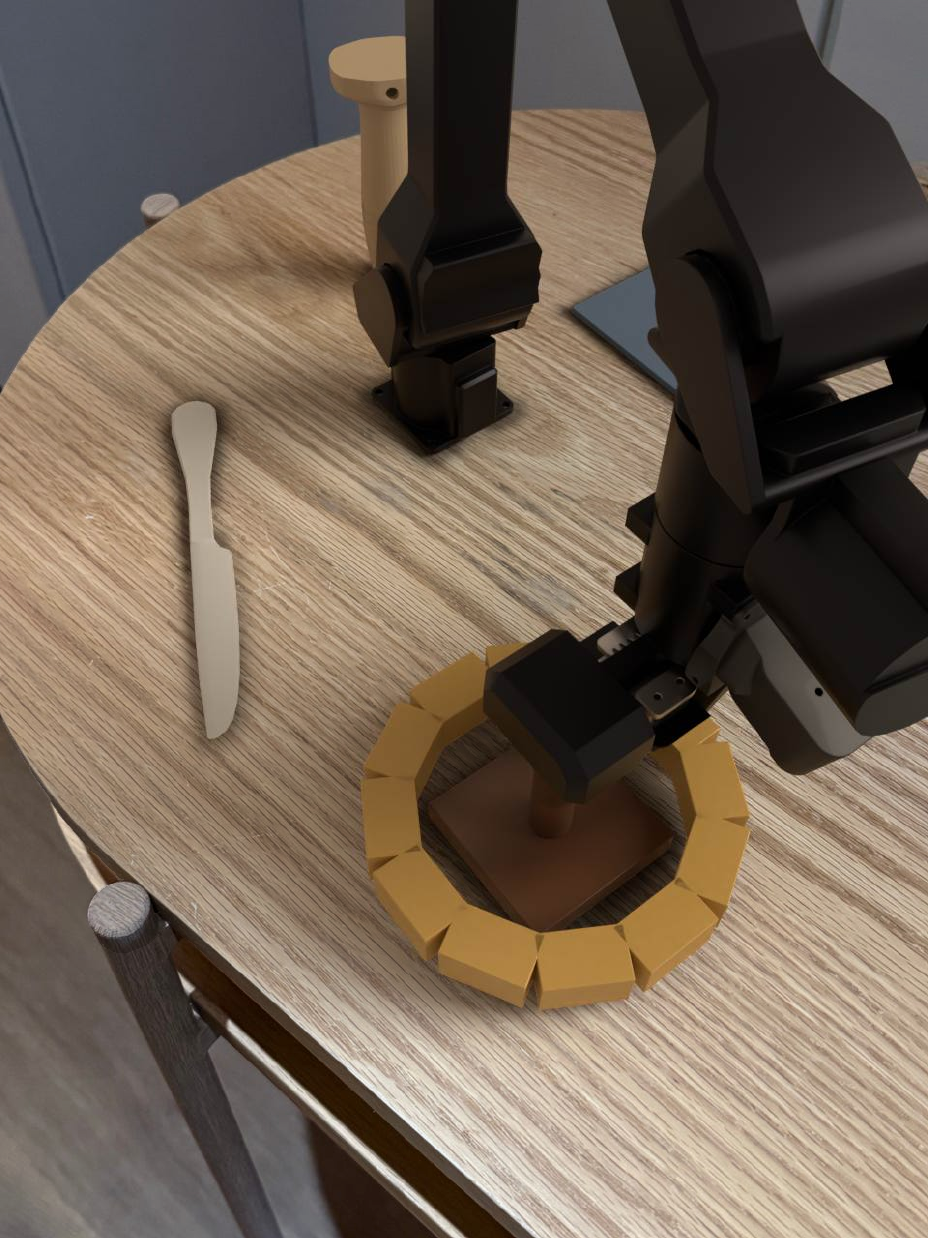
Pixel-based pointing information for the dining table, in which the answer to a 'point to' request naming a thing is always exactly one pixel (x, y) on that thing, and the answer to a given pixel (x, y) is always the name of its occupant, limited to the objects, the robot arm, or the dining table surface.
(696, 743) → the ring
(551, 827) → the post
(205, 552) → the butter knife
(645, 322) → the mat
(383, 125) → the handle
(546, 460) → the dining table surface
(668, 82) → the robot arm
